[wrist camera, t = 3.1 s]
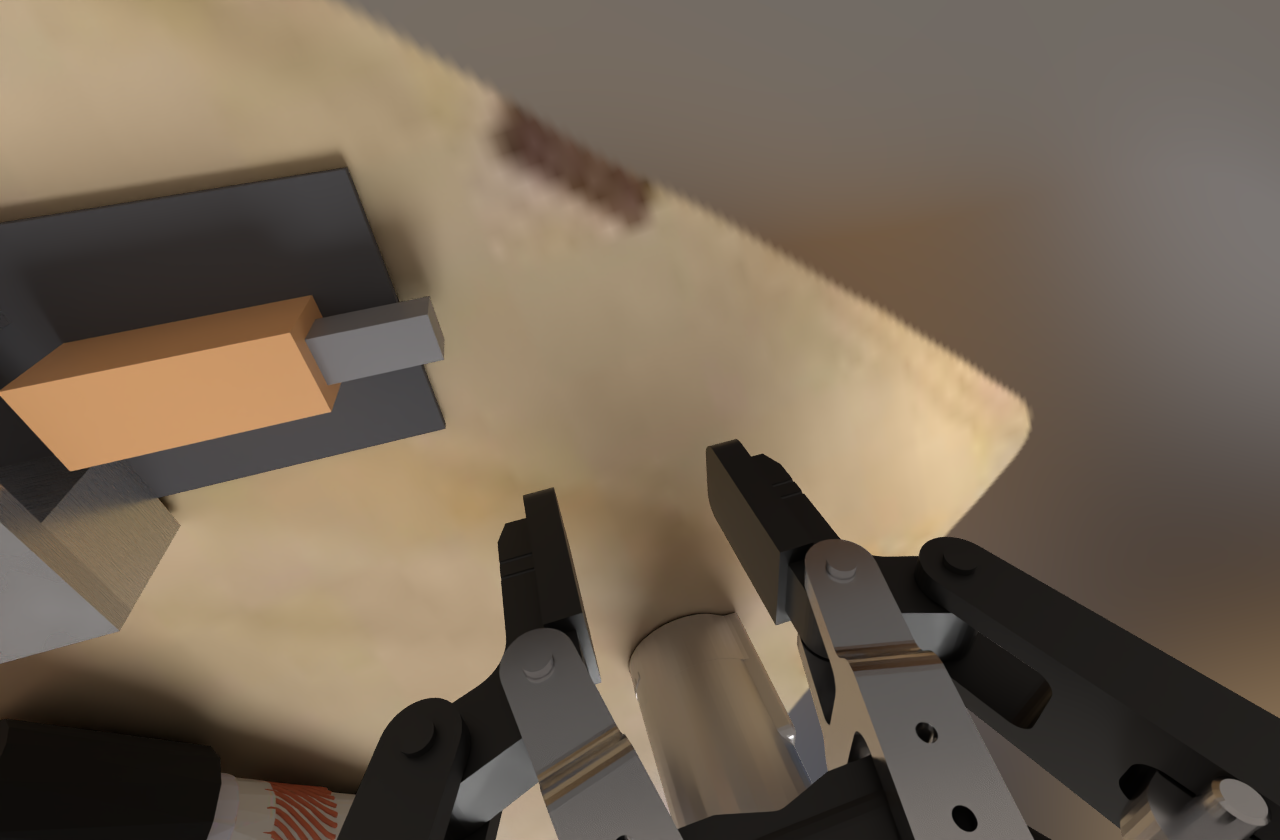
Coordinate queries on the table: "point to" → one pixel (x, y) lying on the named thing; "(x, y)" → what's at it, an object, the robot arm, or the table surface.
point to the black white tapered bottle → (145, 791)
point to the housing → (73, 550)
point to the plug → (212, 375)
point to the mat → (207, 307)
